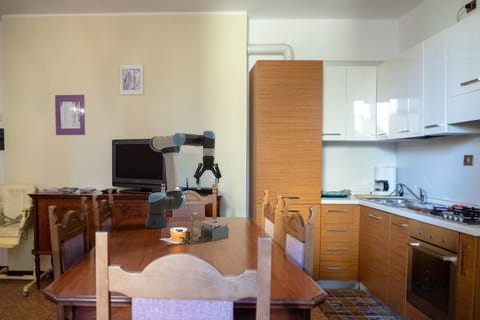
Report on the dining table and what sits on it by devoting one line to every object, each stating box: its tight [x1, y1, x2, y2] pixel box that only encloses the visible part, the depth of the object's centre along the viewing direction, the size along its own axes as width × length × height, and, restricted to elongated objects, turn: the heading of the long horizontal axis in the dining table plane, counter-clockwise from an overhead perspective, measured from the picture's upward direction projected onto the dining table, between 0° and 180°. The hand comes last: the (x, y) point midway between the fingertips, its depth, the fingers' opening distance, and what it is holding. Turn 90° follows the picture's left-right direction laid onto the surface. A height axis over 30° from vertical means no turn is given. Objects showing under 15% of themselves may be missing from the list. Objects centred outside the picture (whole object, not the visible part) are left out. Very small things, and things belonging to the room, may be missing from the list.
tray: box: [182, 236, 207, 245], centre depth 177 cm, size 10×10×2 cm
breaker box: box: [199, 218, 230, 242], centre depth 188 cm, size 12×12×10 cm
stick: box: [189, 212, 200, 241], centre depth 177 cm, size 3×3×16 cm
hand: (207, 189), depth 198 cm, fingers open, 13 cm apart
